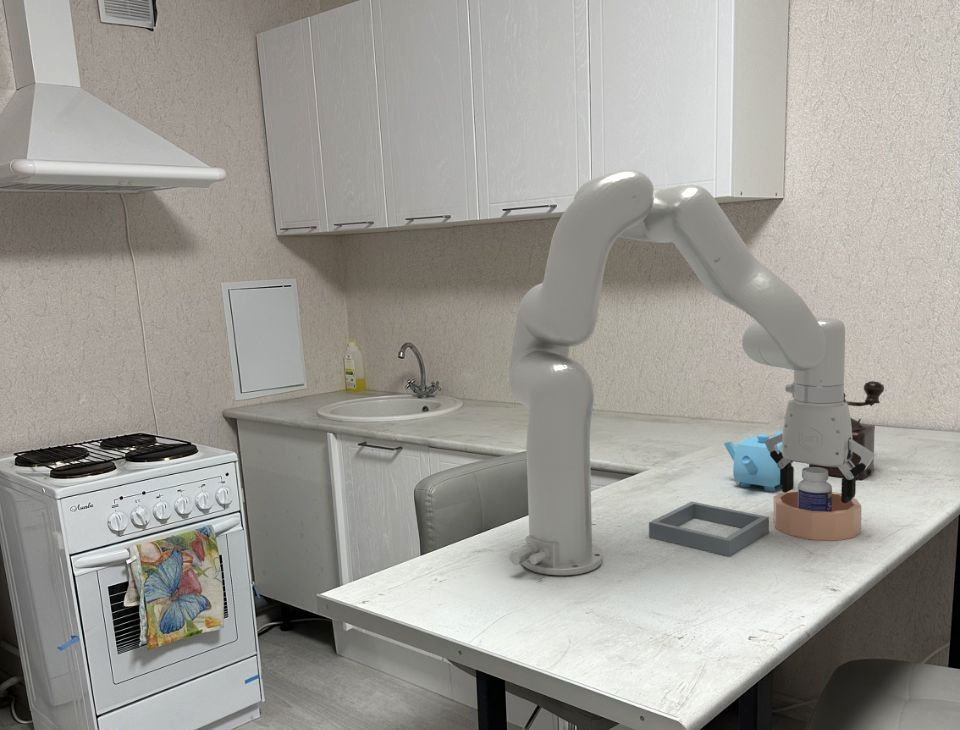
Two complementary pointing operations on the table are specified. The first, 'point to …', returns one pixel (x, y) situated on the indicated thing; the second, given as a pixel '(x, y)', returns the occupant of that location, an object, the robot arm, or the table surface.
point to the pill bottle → (815, 490)
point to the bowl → (817, 518)
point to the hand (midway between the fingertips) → (816, 495)
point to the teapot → (755, 462)
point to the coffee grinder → (860, 431)
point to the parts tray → (726, 546)
